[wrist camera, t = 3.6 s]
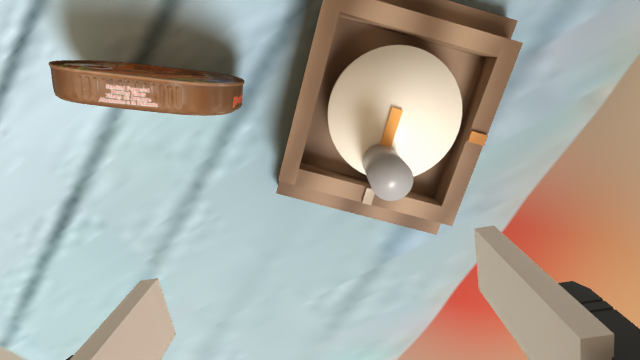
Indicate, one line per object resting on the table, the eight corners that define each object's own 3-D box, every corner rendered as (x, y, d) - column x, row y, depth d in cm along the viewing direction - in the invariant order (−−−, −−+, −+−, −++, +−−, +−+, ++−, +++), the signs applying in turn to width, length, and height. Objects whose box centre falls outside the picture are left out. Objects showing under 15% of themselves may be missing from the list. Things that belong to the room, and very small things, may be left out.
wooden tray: (278, 187, 38) (272, 202, 34) (332, -28, 33) (333, -44, 29) (431, 226, 39) (445, 247, 35) (506, 23, 34) (535, 15, 30)
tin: (252, 77, 36) (231, 78, 28) (250, 111, 37) (229, 122, 29) (89, 58, 36) (20, 53, 27) (91, 92, 36) (24, 98, 28)
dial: (347, 31, 32) (354, 17, 24) (471, 66, 33) (519, 64, 25) (313, 155, 35) (310, 180, 27) (428, 186, 36) (458, 219, 28)
